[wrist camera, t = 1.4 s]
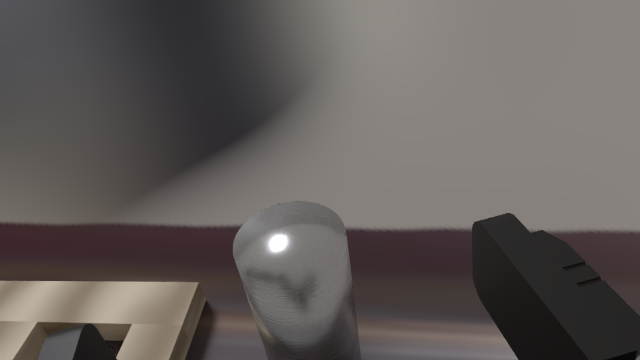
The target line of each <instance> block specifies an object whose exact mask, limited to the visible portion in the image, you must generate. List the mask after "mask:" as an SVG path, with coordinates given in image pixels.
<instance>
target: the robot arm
mask: <svg viewBox="0 0 640 360" xmlns="http://www.w3.org/2000/svg"><path fill="white" fill-rule="evenodd" d="M472 265H473V280H474V284H475V288H476V291H477V293H478V296H479V298H480V300H481V302H482V303H483V305H484V307H485V308H486V310H487V311H488V313H489V314H490V316H491V318H492V319H493V321H494V322H495V324H496V325H497V327H498V328H499V330H500V332H501V333H502V335H503V336H504V338H505V339H506V341H507V342H508V344H509V346H510V347H511V349H512V350H513V352H514V353H515V355H516V356H517V358H518V360H640V316H639V315H638V314H637V313H636V312H635V311H634V310H633V309H632V308H631V307H630V306H629V305H628V304H627V303H626V302H625V301H624V300H623V299H622V298H621V297H620V296H619V295H618V294H617V293H616V292H615V291H614V290H613V289H612V288H611V287H610V286H609V285H608V284H607V283H606V282H605V281H602V280H601V278H600V276H599V275H598V274H597V273H596V272H595V271H594V270H593V269H592V268H591V267H590V266H589V265H586V263H585V261H584V260H583V259H582V258H581V257H580V256H579V255H578V254H577V253H576V252H575V251H574V250H573V249H572V248H571V247H570V246H569V245H568V244H567V243H566V242H564V241H562V240H560V239H558V238H556V237H554V236H553V235H551V234H549V233H547V232H545V231H543V230H541V231H537V232H533V233H530V232H529V231H528V230H527V229H526V228H525V226H524V225H523V224H522V223H521V222H520V221H519V220H518V219H517V218H516V217H515V216H514V215H513V214H511V213H506V214H503V215H499V216H495V217H492V218H488V219H484V220H480V221H476V222H474V224H473V227H472ZM37 360H117V359H116V357H115V355H114V354H113V352H112V351H111V349H110V348H109V346H108V345H107V343H106V342H105V340H104V338H103V337H102V335H101V334H100V332H99V331H98V329H97V328H96V327H95V326H94V325H93V324H90V323H88V324H84V325H80V326H77V327H73V328H69V329H65V330H62V331H58V332H54V333H51V334H49V335H48V336H47V338H46V339H45V341H44V343H43V346H42V349H41V351H40V354H39V357H38V359H37Z"/></svg>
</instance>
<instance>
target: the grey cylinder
mask: <svg viewBox="0 0 640 360" xmlns="http://www.w3.org/2000/svg"><path fill="white" fill-rule="evenodd" d="M233 255H234V258H235V262H236V265H237V268H238V271H239V274H240V277H241V280H242V283H243V286H244V289H245V292H246V295H247V298H248V301H249V304H250V307H251V310H252V313H253V316H254V319H255V321H256V324H257V327H258V330H259V333H260V336H261V339H262V342H263V345H264V348H265V351H266V354H267V357H268V360H361V352H360V344H359V336H358V327H357V319H356V311H355V302H354V294H353V286H352V278H351V269H350V261H349V253H348V244H347V236H346V230H345V226H344V224H343V222H342V220H341V219H340V217H339V216H338V215H337V214H336V213H335V212H334V211H332V210H331V209H329V208H327V207H325V206H323V205H320V204H316V203H312V202H304V201H295V202H285V203H281V204H277V205H274V206H271V207H268V208H266V209H264V210H262V211H260V212H258V213H257V214H255V215H254V216H252V217H251V218H250V219H249V220H248V221H246V223H244V224H243V226H242V227H241V228H240V230H239V231H238V233H237V235H236V237H235V240H234V244H233Z"/></svg>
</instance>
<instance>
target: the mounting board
mask: <svg viewBox="0 0 640 360" xmlns="http://www.w3.org/2000/svg"><path fill="white" fill-rule="evenodd" d="M205 302H206V299H205V296H204V294H203V292H202V289H201V287H200V284H199V282H78V281H0V360H37V359H38V357H39V354H40V351H41V349H42V346H43V343H44V341H45V339H46V338H47V336H48V335H49V334H51V333H54V332H58V331H62V330H65V329H69V328H73V327H77V326H80V325H84V324H88V323H90V324H93V325H94V326H95V327H96V328H97V329H98V331H99V332H100V334H101V335H102V337H103V338H104V340H114V341H124V342H123V344H122V346H121V348H120V351H119V353H118V355H117V357H116V359H117V360H185V358H186V355H187V353H188V350H189V347H190V344H191V341H192V339H193V336H194V333H195V330H196V327H197V325H198V322H199V319H200V316H201V313H202V310H203V308H204V305H205Z"/></svg>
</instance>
